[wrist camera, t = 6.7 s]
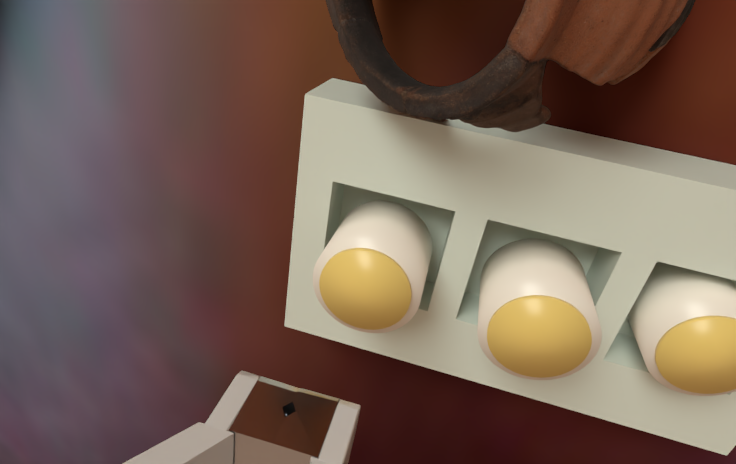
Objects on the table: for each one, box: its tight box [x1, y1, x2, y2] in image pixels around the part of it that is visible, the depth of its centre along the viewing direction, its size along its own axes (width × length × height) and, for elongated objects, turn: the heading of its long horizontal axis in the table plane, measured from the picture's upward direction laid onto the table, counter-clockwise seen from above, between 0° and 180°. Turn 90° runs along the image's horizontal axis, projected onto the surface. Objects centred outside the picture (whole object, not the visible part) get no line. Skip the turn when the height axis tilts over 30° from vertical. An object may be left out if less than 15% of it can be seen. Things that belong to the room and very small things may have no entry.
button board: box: [284, 78, 736, 455], centre depth 18 cm, size 18×10×3 cm, turn 80°
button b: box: [477, 238, 602, 380], centre depth 16 cm, size 4×4×3 cm
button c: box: [313, 200, 432, 333], centre depth 16 cm, size 4×4×3 cm
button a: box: [627, 262, 736, 396], centre depth 16 cm, size 4×4×3 cm
